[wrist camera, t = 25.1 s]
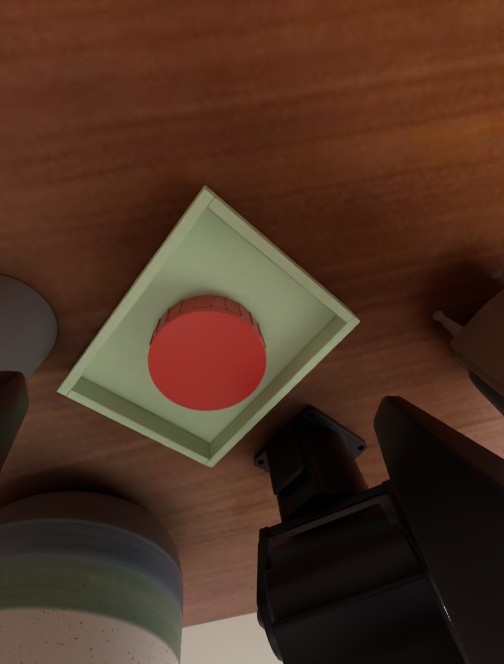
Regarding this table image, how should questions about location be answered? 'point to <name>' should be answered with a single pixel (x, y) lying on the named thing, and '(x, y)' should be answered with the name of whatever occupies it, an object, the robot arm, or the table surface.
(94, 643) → the vase
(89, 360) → the tray
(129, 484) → the table surface
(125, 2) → the table surface
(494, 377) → the alarm clock
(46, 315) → the bottle
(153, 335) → the jar lid
